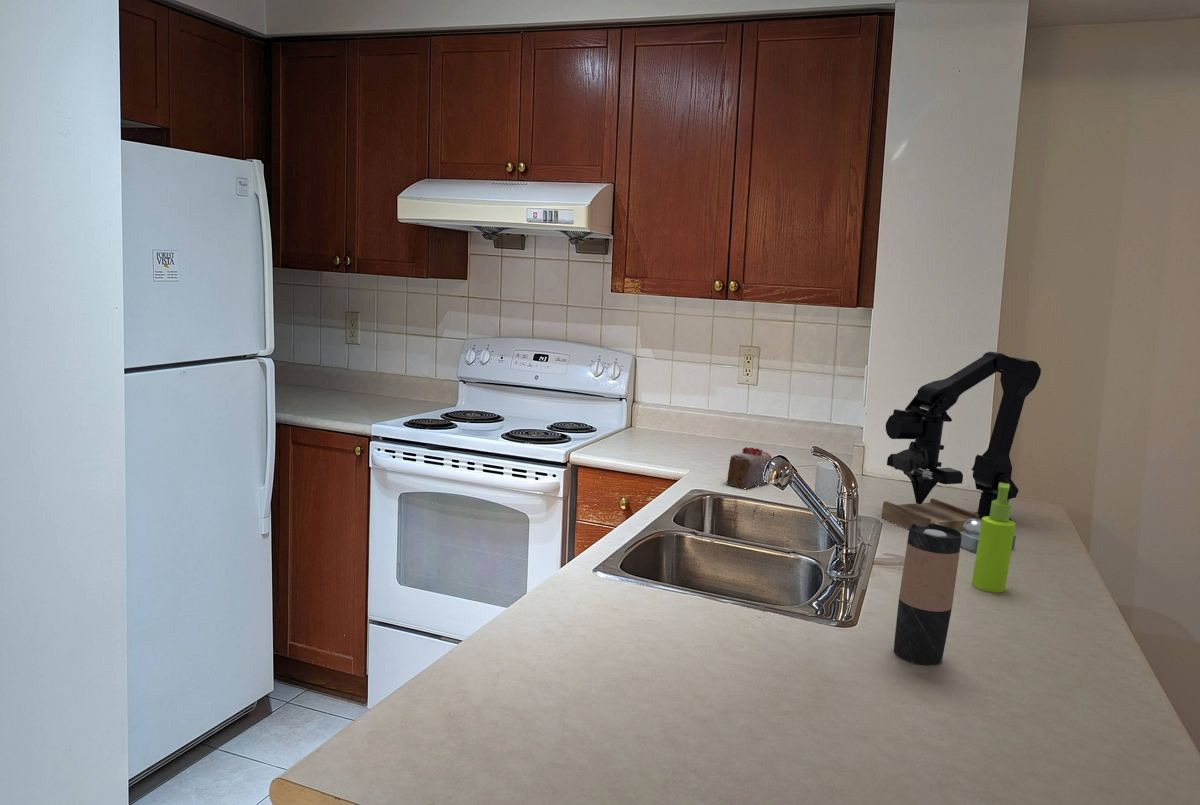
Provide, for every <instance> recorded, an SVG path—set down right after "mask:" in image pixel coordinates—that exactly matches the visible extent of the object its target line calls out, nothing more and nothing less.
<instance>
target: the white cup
mask: <svg viewBox="0 0 1200 805" xmlns="http://www.w3.org/2000/svg"><path fill="white" fill-rule="evenodd" d="M831 462H832V461H819V462H816V465H815V466H816V467H815V468H816V469H815V478H814V480H815V482H814V494H815V493H816V495H817V496H818V497H819V498H820V499H821V500H822V501H823V502H824V503H825V504H826V505H827V506H828V505H830V506H831V505H832V506H835V507H836V498H837V492H836V491H837V483H838V473H837V471H836V469H835V468H834V466H833V464H832V463H831ZM847 466H848V467H849V468H850V466H849V465H847Z"/></svg>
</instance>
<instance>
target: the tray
mask: <svg viewBox="0 0 1200 805" xmlns="http://www.w3.org/2000/svg"><path fill="white" fill-rule="evenodd" d="M934 524H939V523H934ZM939 525H941V524H939ZM943 526H944V525H943ZM960 533H961V534H962V539H961V546H960V549H963V550H965V551H969V552H971V553H973V554H976V553H977V547H978V540H979V538H974V537H972V536H969V535H967V534H964V533H963V532H962V531H961V532H960ZM1016 537H1017V536H1016V535H1015V534H1014V537H1013V544H1012V550H1015V544H1016Z"/></svg>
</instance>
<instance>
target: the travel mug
mask: <svg viewBox="0 0 1200 805" xmlns="http://www.w3.org/2000/svg"><path fill="white" fill-rule="evenodd" d="M961 539H962V534H961V533H960V532H959V531H957V530H955V529H953V528H950V527H947V526H943V525H939V524H928V525H927V526H917V525H916V524H915V523H914V524H911V525H910V528H909V529H908V536H907V541H906V549H905V555H904V563H903V567H902V568H903V570H902V576H901V582H900V587H899V588H900V590H899V595H898V601H897V602H898V604H897V611H896V612H897V613H896V620H895V623H896V624H895V632H894V644H893V653H894V654H895V656H897V657H898V658H900V659H902V660H903V661H906V662H909V663H912V664H915V665H919V666H920V665H921V666H937V665H939V664H941V663H942V661H943V658H944V652H945V646H946V642H947V636H948V630H949V626H950V625H949V624H950V621H951V620H950V619H951V616H952V615H951V614H952V608H953V603H954V597H955V596H954V595H955V588H956V580H957V573H958V566H959V559H960V552H961V551H960V550H961V547H960V546H961Z"/></svg>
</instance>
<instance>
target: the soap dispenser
mask: <svg viewBox="0 0 1200 805" xmlns="http://www.w3.org/2000/svg"><path fill="white" fill-rule="evenodd" d="M1009 488H1010V484H1007V483H1001V482H999V486H998V496H997V499H996V500H994V501H992V503H991V510H990V516H986V517H982V518H981V527H980V534H979V540H978V547H977V553H975V562H974V568H973V574H972V581H971V585H972V586H973V587H974V588H976V589H978V590H980V591H984V592H989V593H995V594H996V593H1004V592H1005V591H1006V587H1007V586H1006V585H1007V579H1008V574H1009V567H1010V562H1011V561H1010V560H1011V555H1012V550H1013V549H1012V544H1013V537H1014V535H1015V530H1016V522H1015V521H1012V519H1011V520H1009V518H1010V516H1011V515H1010V514H1011V509H1012V504H1011V503H1010V502H1008V501H1007V496H1008V491H1009Z"/></svg>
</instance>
